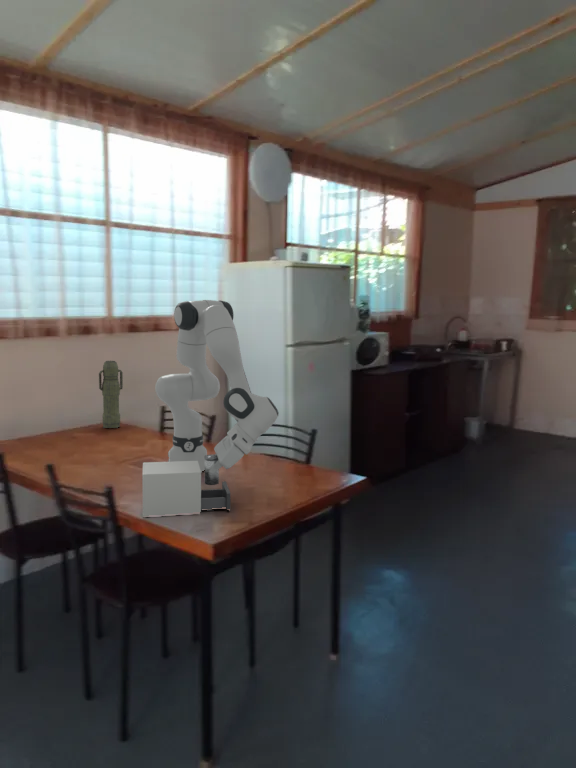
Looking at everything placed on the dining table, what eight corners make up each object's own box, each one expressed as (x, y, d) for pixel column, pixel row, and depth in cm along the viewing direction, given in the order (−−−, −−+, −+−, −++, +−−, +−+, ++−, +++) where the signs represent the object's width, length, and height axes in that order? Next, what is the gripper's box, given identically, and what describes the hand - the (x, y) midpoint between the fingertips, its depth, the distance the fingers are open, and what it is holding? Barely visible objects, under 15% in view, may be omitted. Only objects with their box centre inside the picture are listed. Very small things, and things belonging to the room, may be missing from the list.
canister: (203, 481, 200) (203, 454, 199) (218, 480, 201) (218, 454, 200) (204, 485, 195) (205, 458, 194) (219, 484, 196) (219, 457, 195)
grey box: (143, 503, 201) (142, 462, 199) (197, 500, 205) (197, 460, 203) (142, 518, 188) (142, 474, 186) (200, 514, 192) (201, 472, 190)
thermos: (97, 426, 317) (96, 360, 312) (119, 424, 324) (118, 359, 319) (103, 430, 310) (101, 362, 305) (125, 427, 317) (124, 361, 312)
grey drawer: (174, 500, 203) (174, 483, 202) (225, 498, 207) (225, 481, 206) (176, 514, 190) (176, 495, 190) (230, 511, 194) (230, 493, 193)
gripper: (229, 426, 207) (200, 454, 207) (237, 439, 188) (205, 470, 187) (241, 438, 209) (213, 466, 208) (251, 452, 189) (219, 484, 188)
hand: (209, 468), depth 197 cm, fingers closed on canister, 5 cm apart
